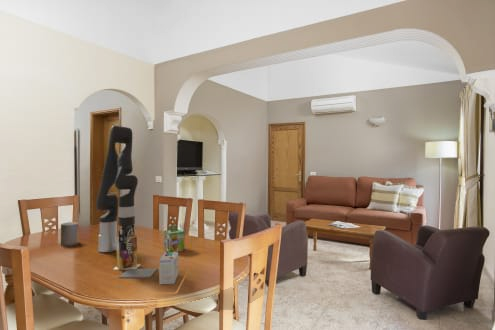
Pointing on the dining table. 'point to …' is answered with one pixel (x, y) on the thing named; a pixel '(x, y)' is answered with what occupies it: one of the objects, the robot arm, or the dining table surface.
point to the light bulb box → (168, 268)
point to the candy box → (127, 253)
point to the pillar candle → (69, 233)
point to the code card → (128, 268)
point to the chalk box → (174, 240)
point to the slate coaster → (138, 273)
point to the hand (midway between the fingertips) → (126, 248)
